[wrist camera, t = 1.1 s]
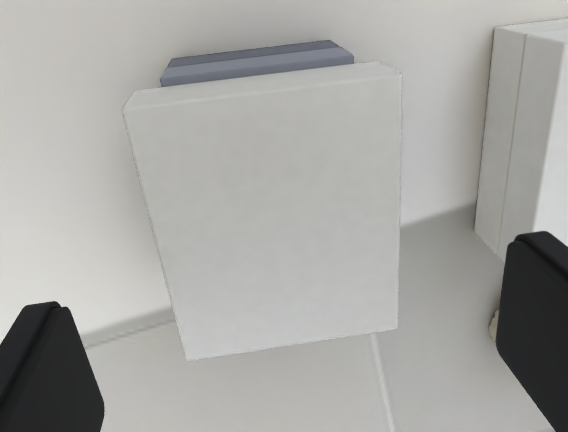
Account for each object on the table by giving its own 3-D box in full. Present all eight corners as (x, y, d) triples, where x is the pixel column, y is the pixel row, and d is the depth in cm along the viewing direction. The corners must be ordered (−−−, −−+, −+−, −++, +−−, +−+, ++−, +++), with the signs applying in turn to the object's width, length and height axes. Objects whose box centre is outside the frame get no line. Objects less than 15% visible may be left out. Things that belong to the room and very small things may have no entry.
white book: (133, 89, 12) (120, 108, 11) (380, 59, 13) (403, 73, 11) (189, 322, 16) (185, 362, 14) (381, 294, 16) (398, 329, 15)
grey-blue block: (170, 58, 15) (159, 78, 12) (331, 39, 15) (354, 54, 12) (213, 273, 19) (212, 324, 16) (341, 254, 19) (361, 302, 16)
